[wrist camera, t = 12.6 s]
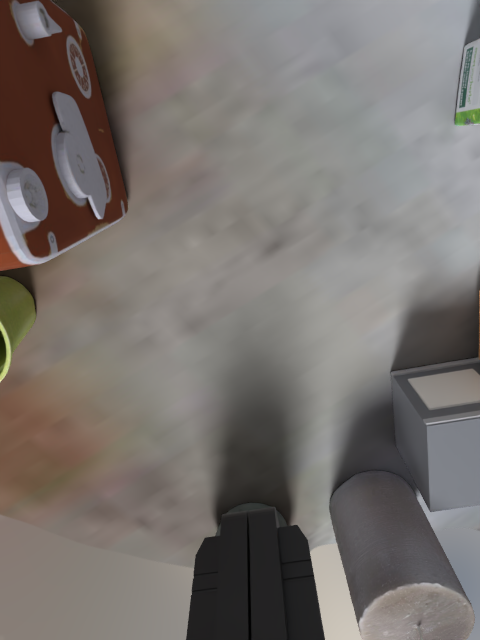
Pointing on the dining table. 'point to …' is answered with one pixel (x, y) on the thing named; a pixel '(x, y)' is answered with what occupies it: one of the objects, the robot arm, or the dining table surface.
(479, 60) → the syrup box
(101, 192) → the cine camera
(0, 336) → the plant pot
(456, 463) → the block
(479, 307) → the orange l-shaped bracket
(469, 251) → the dining table surface
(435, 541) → the pillar candle
